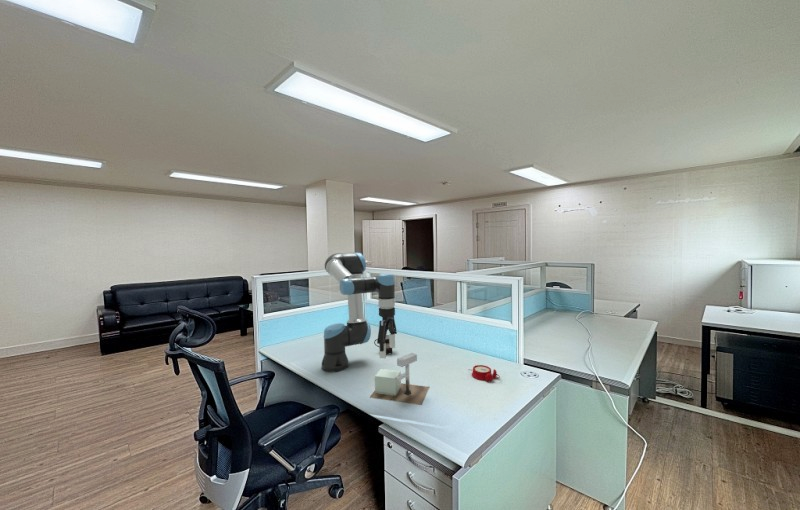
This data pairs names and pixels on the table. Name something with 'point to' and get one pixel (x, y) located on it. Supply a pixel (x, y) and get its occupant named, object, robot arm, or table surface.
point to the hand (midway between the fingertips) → (387, 352)
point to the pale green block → (387, 382)
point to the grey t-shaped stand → (406, 368)
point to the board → (406, 394)
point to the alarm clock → (483, 373)
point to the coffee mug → (388, 349)
